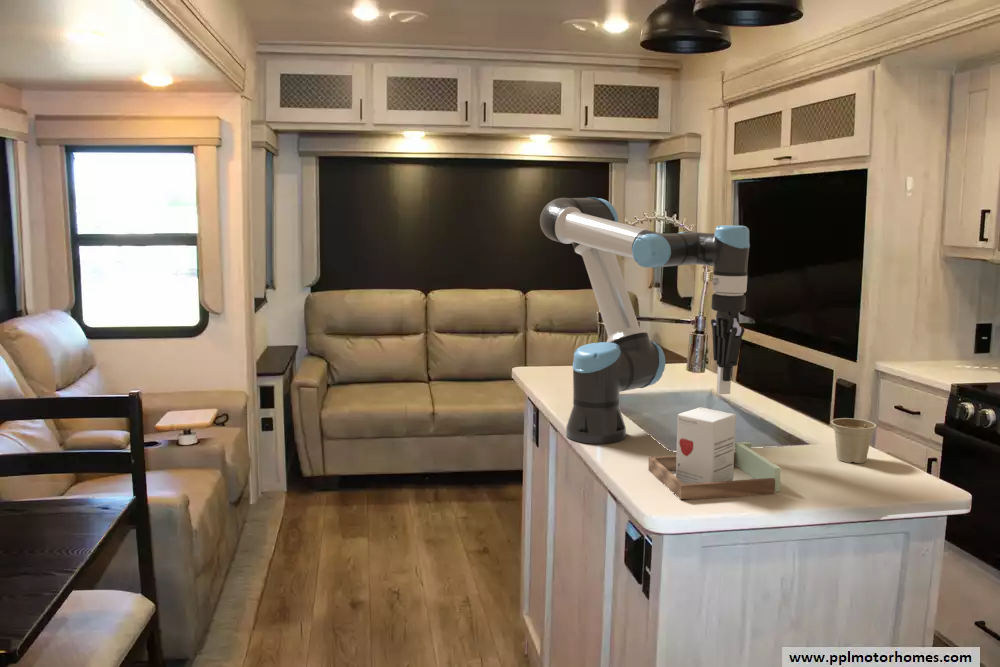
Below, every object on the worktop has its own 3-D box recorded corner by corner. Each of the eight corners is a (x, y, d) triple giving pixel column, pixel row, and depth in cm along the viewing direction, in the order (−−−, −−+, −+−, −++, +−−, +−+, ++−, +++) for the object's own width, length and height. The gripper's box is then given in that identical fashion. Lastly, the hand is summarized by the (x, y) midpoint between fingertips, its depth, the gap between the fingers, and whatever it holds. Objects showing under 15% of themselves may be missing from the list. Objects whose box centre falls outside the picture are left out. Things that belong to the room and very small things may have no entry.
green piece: (734, 464, 182) (734, 442, 181) (747, 463, 182) (748, 441, 182) (774, 491, 164) (775, 468, 163) (788, 490, 164) (789, 467, 164)
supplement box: (673, 482, 170) (675, 413, 168) (697, 472, 176) (699, 406, 174) (711, 492, 164) (713, 421, 162) (734, 482, 170) (737, 413, 168)
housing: (648, 470, 178) (648, 457, 178) (733, 464, 181) (733, 451, 181) (680, 500, 160) (681, 485, 159) (774, 493, 163) (775, 479, 162)
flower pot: (836, 451, 191) (838, 415, 189) (879, 458, 185) (881, 422, 183) (823, 460, 184) (825, 424, 182) (867, 468, 178) (869, 431, 176)
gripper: (702, 290, 190) (697, 387, 194) (725, 297, 177) (719, 401, 181) (732, 289, 191) (726, 386, 195) (757, 296, 178) (751, 399, 182)
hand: (723, 393), depth 188 cm, fingers closed
